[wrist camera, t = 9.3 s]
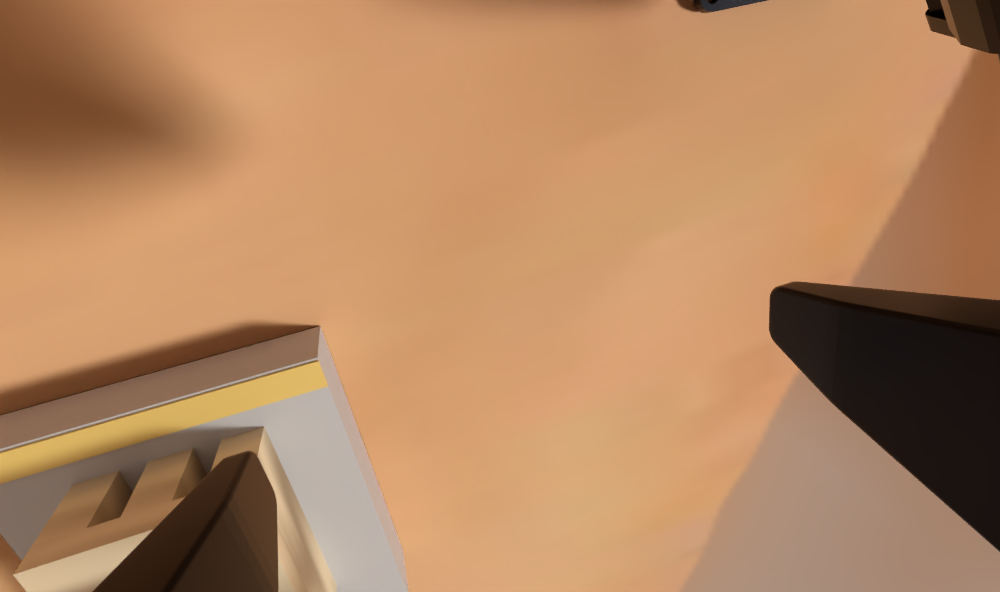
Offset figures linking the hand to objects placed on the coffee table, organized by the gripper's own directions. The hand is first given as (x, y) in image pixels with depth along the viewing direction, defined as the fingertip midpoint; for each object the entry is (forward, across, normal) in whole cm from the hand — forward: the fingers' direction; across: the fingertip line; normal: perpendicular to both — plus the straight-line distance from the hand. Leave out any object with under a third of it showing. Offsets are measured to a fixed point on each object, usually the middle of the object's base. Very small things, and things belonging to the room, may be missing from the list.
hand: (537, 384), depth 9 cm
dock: (+12, +10, +9) cm, 18 cm away
